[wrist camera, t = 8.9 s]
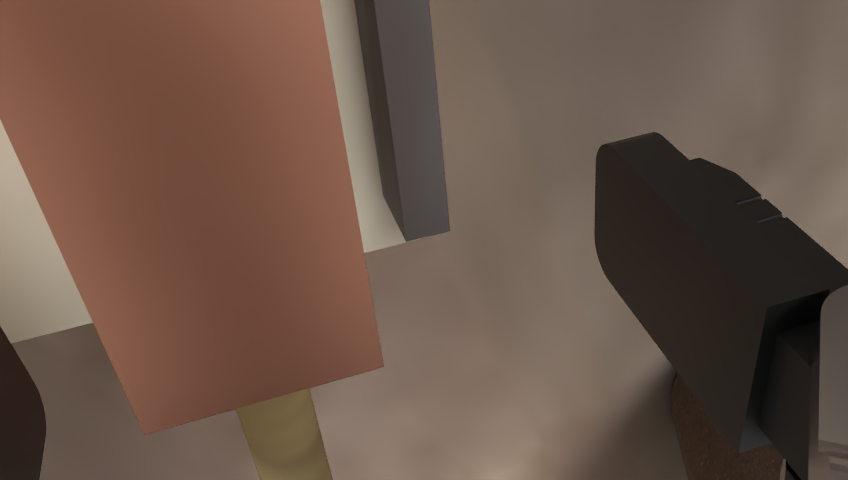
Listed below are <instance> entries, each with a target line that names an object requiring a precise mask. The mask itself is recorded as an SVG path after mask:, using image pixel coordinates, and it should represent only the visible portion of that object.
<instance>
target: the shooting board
mask: <svg viewBox="0 0 848 480" xmlns="http://www.w3.org/2000/svg"><path fill="white" fill-rule="evenodd" d="M320 2H321V8H322V14H323V19H324V25H325V31H326V37H327V42H328V48H329V54H330V60H331V65H332V71H333V77H334V83H335V88H336V94H337V100H338V106H339V112H340V117H341V123H342V129H343V135H344V140H345V146H346V152H347V158H348V163H349V169H350V175H351V181H352V186H353V192H354V198H355V204H356V209H357V215H358V221H359V227H360V232H361V238H362V244H363V250H364V253H367V252H371V251H375V250H379V249H383V248H387V247H391V246H395V245H399V244H403V243H407V242H410V241H414V240H418V239H422V238H426V237H429V236H432V235H436V234H440V233H444V232H448V231H450V227H449V216H448V205H447V194H446V183H445V172H444V161H443V150H442V139H441V128H440V117H439V106H438V95H437V85H436V74H435V63H434V52H433V41H432V30H431V19H430V8H429V0H320ZM90 323H93V322H92V319H91V317H90V315H89V313H88V311H87V309H86V306H85V304H84V302H83V300H82V298H81V295H80V293H79V291H78V289H77V287H76V284H75V282H74V280H73V278H72V276H71V273H70V271H69V269H68V267H67V265H66V263H65V260H64V258H63V256H62V254H61V252H60V249H59V247H58V245H57V243H56V241H55V238H54V236H53V234H52V232H51V230H50V227H49V225H48V223H47V221H46V219H45V216H44V214H43V212H42V210H41V208H40V206H39V203H38V201H37V199H36V197H35V195H34V192H33V190H32V188H31V186H30V184H29V181H28V179H27V177H26V175H25V173H24V170H23V168H22V166H21V164H20V162H19V159H18V157H17V155H16V153H15V151H14V149H13V146H12V144H11V142H10V140H9V138H8V135H7V133H6V131H5V129H4V127H3V124H2V122H1V120H0V326H1V328H2V330H3V331H4V333H5V335H6V336H7V338H8V340H9V341H10V343H11V344H12V343H16V342H19V341H23V340H27V339H31V338H35V337H39V336H43V335H47V334H51V333H55V332H59V331H62V330H66V329H70V328H74V327H78V326H82V325H86V324H90Z"/></svg>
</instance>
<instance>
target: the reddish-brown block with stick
mask: <svg viewBox="0 0 848 480" xmlns="http://www.w3.org/2000/svg"><path fill="white" fill-rule="evenodd" d="M0 120H1V122H2V124H3V127H4V129H5V131H6V133H7V135H8V138H9V140H10V142H11V144H12V146H13V149H14V151H15V153H16V155H17V157H18V159H19V162H20V164H21V166H22V168H23V170H24V173H25V175H26V177H27V179H28V181H29V184H30V186H31V188H32V190H33V192H34V195H35V197H36V199H37V201H38V203H39V206H40V208H41V210H42V212H43V214H44V216H45V219H46V221H47V223H48V225H49V227H50V230H51V232H52V234H53V236H54V238H55V241H56V243H57V245H58V247H59V249H60V252H61V254H62V256H63V258H64V260H65V263H66V265H67V267H68V269H69V271H70V273H71V276H72V278H73V280H74V282H75V284H76V287H77V289H78V291H79V293H80V295H81V298H82V300H83V302H84V304H85V306H86V309H87V311H88V313H89V315H90V317H91V319H92V322H93V324H94V326H95V328H96V330H97V333H98V335H99V337H100V339H101V341H102V344H103V346H104V348H105V350H106V352H107V355H108V357H109V359H110V361H111V363H112V366H113V368H114V370H115V372H116V374H117V376H118V379H119V381H120V383H121V385H122V387H123V390H124V392H125V394H126V396H127V398H128V401H129V403H130V405H131V407H132V409H133V412H134V414H135V416H136V418H137V420H138V423H139V425H140V427H141V429H142V431H143V433H144V435H146V434H149V433H153V432H157V431H160V430H164V429H167V428H171V427H174V426H178V425H181V424H185V423H188V422H192V421H195V420H199V419H202V418H206V417H209V416H213V415H216V414H220V413H223V412H227V411H230V410H234V409H237V412H238V415H239V418H240V421H241V424H242V427H243V430H244V433H245V436H246V438H247V441H248V444H249V447H250V450H251V453H252V456H253V459H254V462H255V465H256V468H257V471H258V473H259V476H260V479H261V480H333V479H332V475H331V472H330V468H329V464H328V460H327V456H326V452H325V448H324V444H323V440H322V437H321V433H320V429H319V425H318V421H317V417H316V413H315V409H314V406H313V402H312V398H311V394H310V390H309V388H311V387H315V386H318V385H322V384H325V383H329V382H332V381H336V380H339V379H343V378H347V377H350V376H354V375H357V374H361V373H364V372H368V371H371V370H375V369H378V368H382V367H384V365H383V359H382V353H381V347H380V342H379V336H378V330H377V324H376V319H375V313H374V307H373V301H372V296H371V290H370V284H369V278H368V273H367V267H366V261H365V255H364V250H363V244H362V238H361V232H360V227H359V221H358V215H357V209H356V204H355V198H354V192H353V186H352V181H351V175H350V169H349V163H348V158H347V152H346V146H345V140H344V135H343V129H342V123H341V117H340V112H339V106H338V100H337V94H336V88H335V83H334V77H333V71H332V65H331V60H330V54H329V48H328V42H327V37H326V31H325V25H324V19H323V14H322V8H321V2H320V0H0Z"/></svg>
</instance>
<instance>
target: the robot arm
mask: <svg viewBox="0 0 848 480" xmlns="http://www.w3.org/2000/svg"><path fill="white" fill-rule="evenodd" d="M595 246H596V251H597V255H598V258H599V262H600V264H601V267H602V269H603V271H604V273H605V275H606V277H607V279H608V280H609V281H610V283H611V284H612V285H613V287H614V288H615V290H616V291H617V292H618V294H619V295H620V296H621V298H622V299H623V300H624V302H625V303H626V304H627V306H628V307H629V308H630V310H631V311H632V312H633V314H634V315H635V316H636V318H637V319H638V320H639V322H640V323H641V324H642V326H643V327H644V328H645V330H646V331H647V332H648V334H649V335H650V336H651V338H652V339H653V340H654V342H655V343H656V344H657V346H658V347H659V348H660V350H661V351H662V352H663V354H664V355H665V356H666V358H667V359H668V360H669V362H670V363H671V364H672V366H673V367H674V368H675V370H676V371H677V372H678V374H679V375H680V376H681V378H682V379H683V380H684V382H685V383H686V384H687V386H688V387H689V388H690V390H691V391H692V392H693V394H694V395H695V396H696V398H697V399H698V400H699V402H700V403H701V404H702V406H703V407H704V408H705V410H706V411H707V412H708V414H709V415H710V416H711V418H712V419H713V420H714V422H715V423H716V424H717V426H718V427H719V428H720V430H721V431H722V432H723V434H724V435H725V436H726V438H727V439H728V440H729V442H730V443H731V444H732V446H733V447H734V448H735V450H736V451H737V452H738V453H742V452H745V451H748V450H751V449H754V448H757V447H760V446H763V445H766V444H770V443H772V444H773V445H774V446H775V448H776V449H777V450H778V451H779V453H780V454H781V455H782V456H783V458H784V459H783V463H782V466H781V472H780V480H848V269H847V268H846V267H844V266H843V265H842V264H841V263H840V262H839V261H837V260H836V259H835V258H834V257H833V256H832V255H830V254H829V253H828V252H827V251H826V250H825V249H823V248H822V247H821V246H820V245H819V244H818V243H816V242H815V241H814V240H813V239H812V238H811V237H809V236H808V235H807V234H806V233H805V232H804V231H802V230H801V229H800V228H799V227H798V226H797V225H796V224H794V223H793V222H792V221H791V220H790V219H789V218H787V217H786V218H783V217H782V212H780V211H779V210H778V209H777V208H776V207H775V206H773V205H772V204H771V203H770V202H769V201H768V200H766V199H764V200H762V199H761V194H759V193H758V192H757V191H756V190H755V189H754V188H752V187H751V186H750V185H749V184H748V183H747V182H745V181H744V180H743V179H742V178H741V177H740V176H738V175H737V174H736V173H734V172H732V171H730V170H727V169H725V168H723V167H720V166H718V165H716V164H713V163H711V162H709V161H706V160H704V159H702V158H697V159H693V160H688V159H687V158H686V157H685V156H684V155H683V154H682V153H681V152H680V151H678V150H677V149H676V148H675V147H674V146H673V145H672V144H671V143H670V142H669V141H667V140H666V139H665V138H664V137H663V136H662V135H660V134H659V133H656V132H652V133H648V134H644V135H640V136H636V137H632V138H628V139H624V140H620V141H616V142H612V143H608V144H604V145H602V146H601V147H600V148H599V150H598V152H597V157H596V186H595ZM45 436H46V419H45V412H44V407H43V403H42V400H41V397H40V394H39V391H38V389H37V387H36V385H35V383H34V382H33V380H32V378H31V376H30V375H29V373H28V371H27V370H26V368H25V366H24V365H23V363H22V361H21V360H20V358H19V356H18V355H17V353H16V351H15V350H14V348H13V346H12V345H11V343H10V341H9V340H8V338H7V336H6V335H5V333H4V331H3V330H2V328H1V326H0V480H39V478H40V471H41V464H42V457H43V450H44V443H45Z"/></svg>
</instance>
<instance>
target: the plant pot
mask: <svg viewBox="0 0 848 480" xmlns="http://www.w3.org/2000/svg"><path fill="white" fill-rule="evenodd" d="M671 412H672V417H673V421H674V426H675V430H676V434H677V438H678V442H679V446H680V450H681V454H682V458H683V461H684V465H685V468H686V472H687V475H688V479H689V480H780V472H781V466H782V463H783V459H784V458H783V456H782V455H781V454H780V453H779V451H778V450H777V449H776V448H775V446H774V445H773V444H772V443H770V444H766V445H763V446H760V447H757V448H754V449H751V450H748V451H745V452H742V453H738V452H737V451H736V450H735V448H734V447H733V446H732V444H731V443H730V442H729V440H728V439H727V438H726V436H725V435H724V434H723V432H722V431H721V430H720V428H719V427H718V426H717V424H716V423H715V422H714V420H713V419H712V418H711V416H710V415H709V414H708V412H707V411H706V410H705V408H704V407H703V406H702V404H701V403H700V402H699V400H698V399H697V398H696V396H695V395H694V394H693V392H692V391H691V390H690V388H689V387H688V386H687V384H686V383H685V382H684V380H683V379H682V378H681V376H680V375H679V374H677V376H676V379H675V381H674V384H673V387H672V391H671Z"/></svg>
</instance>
